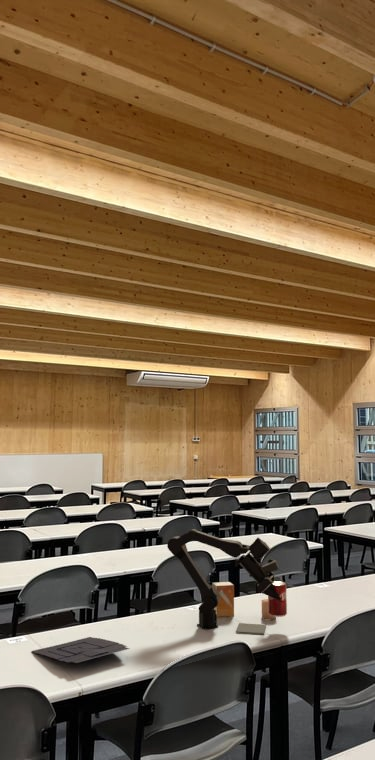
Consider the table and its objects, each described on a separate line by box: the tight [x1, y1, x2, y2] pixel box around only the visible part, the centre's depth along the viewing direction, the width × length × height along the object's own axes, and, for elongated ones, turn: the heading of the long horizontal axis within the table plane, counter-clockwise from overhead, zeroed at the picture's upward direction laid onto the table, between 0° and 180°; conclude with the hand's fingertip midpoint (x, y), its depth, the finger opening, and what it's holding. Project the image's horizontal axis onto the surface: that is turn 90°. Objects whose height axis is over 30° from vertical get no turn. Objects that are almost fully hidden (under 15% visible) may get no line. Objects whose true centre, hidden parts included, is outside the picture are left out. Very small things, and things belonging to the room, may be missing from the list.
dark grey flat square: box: [31, 636, 130, 664], centre depth 193 cm, size 24×30×4 cm
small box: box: [211, 581, 235, 618], centre depth 243 cm, size 8×6×13 cm
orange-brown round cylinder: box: [261, 598, 277, 621], centre depth 237 cm, size 6×6×7 cm
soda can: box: [267, 580, 288, 618], centre depth 221 cm, size 7×7×12 cm
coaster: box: [235, 622, 267, 636], centre depth 221 cm, size 11×11×1 cm
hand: (280, 597), depth 220 cm, fingers closed on soda can, 7 cm apart
